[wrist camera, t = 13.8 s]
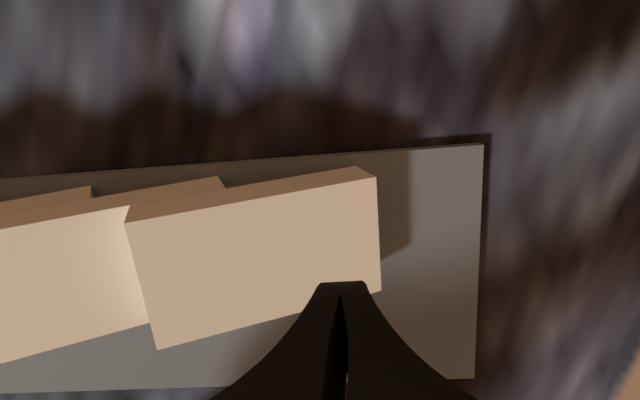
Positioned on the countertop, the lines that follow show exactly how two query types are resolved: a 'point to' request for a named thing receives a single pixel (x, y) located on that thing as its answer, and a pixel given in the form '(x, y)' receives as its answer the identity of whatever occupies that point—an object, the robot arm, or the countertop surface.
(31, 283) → the domino
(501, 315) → the countertop surface
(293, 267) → the domino
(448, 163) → the mat
